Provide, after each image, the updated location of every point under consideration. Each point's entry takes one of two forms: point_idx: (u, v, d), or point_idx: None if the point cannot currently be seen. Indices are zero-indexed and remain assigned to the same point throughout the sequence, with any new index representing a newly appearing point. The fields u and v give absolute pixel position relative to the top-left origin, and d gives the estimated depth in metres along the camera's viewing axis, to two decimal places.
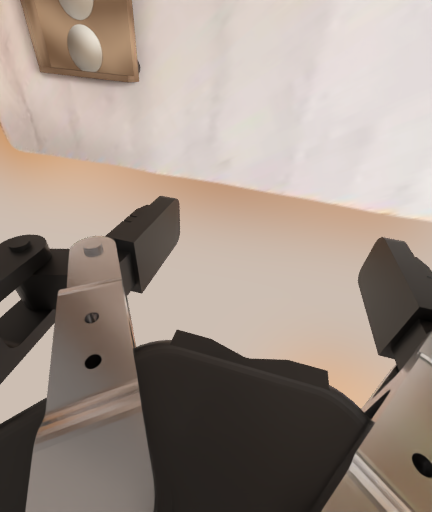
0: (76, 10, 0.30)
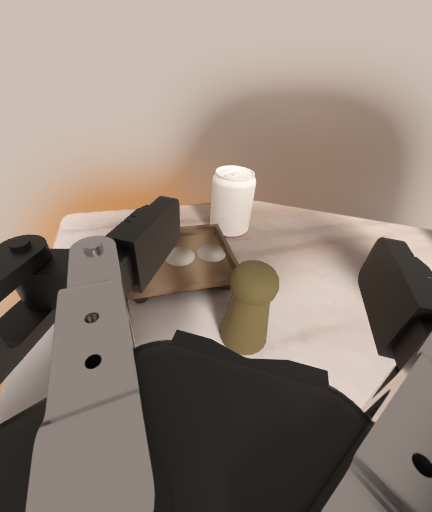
0: (169, 256, 0.39)
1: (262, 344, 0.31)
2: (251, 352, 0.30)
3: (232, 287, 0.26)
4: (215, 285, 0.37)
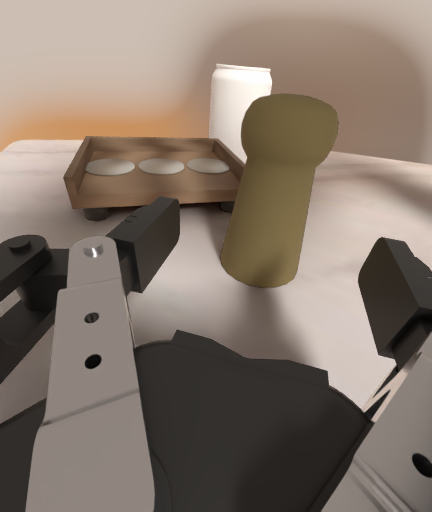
0: (146, 165, 0.27)
1: (293, 271, 0.18)
2: (274, 283, 0.17)
3: (245, 132, 0.13)
4: (213, 198, 0.24)
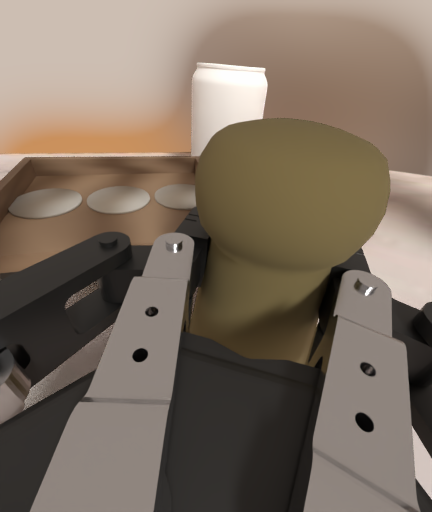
0: (98, 198, 0.20)
1: None
2: None
3: (199, 198, 0.07)
4: None
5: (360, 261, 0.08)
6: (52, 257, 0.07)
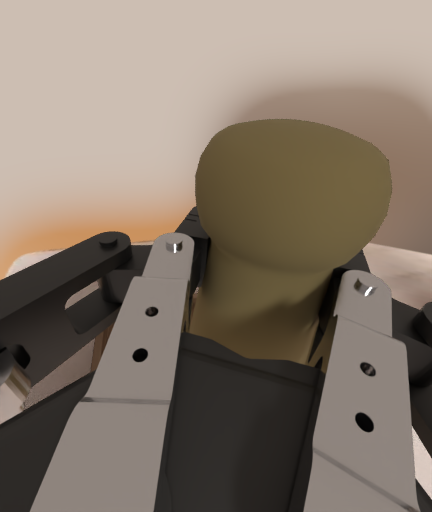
0: None
1: None
2: None
3: (199, 200, 0.06)
4: None
5: (360, 261, 0.08)
6: (52, 257, 0.07)
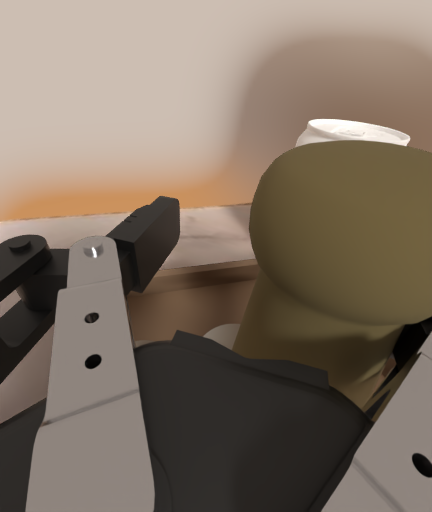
0: None
1: None
2: None
3: (261, 240, 0.06)
4: None
5: None
6: None
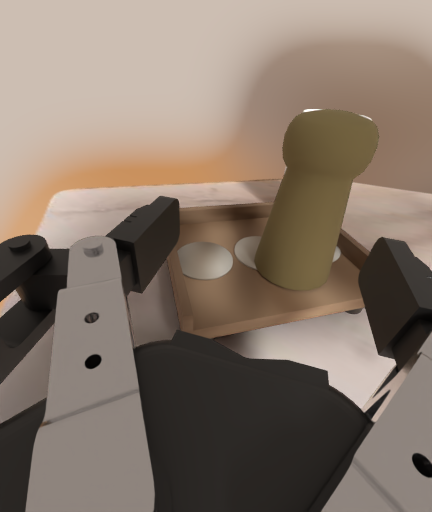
0: (244, 253, 0.21)
1: (326, 275, 0.19)
2: (309, 286, 0.18)
3: (289, 146, 0.14)
4: (345, 308, 0.19)
5: None
6: None
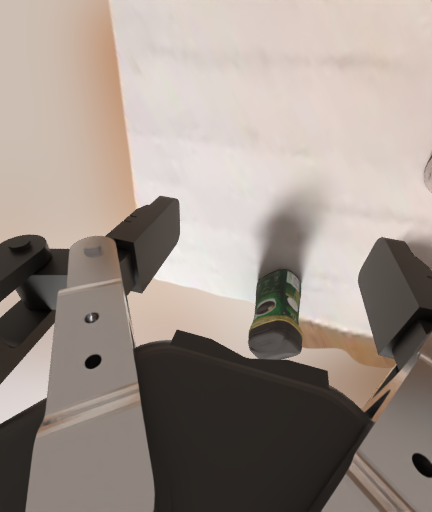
0: None
1: None
2: None
3: None
4: None
5: None
6: None
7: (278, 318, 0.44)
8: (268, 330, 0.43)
